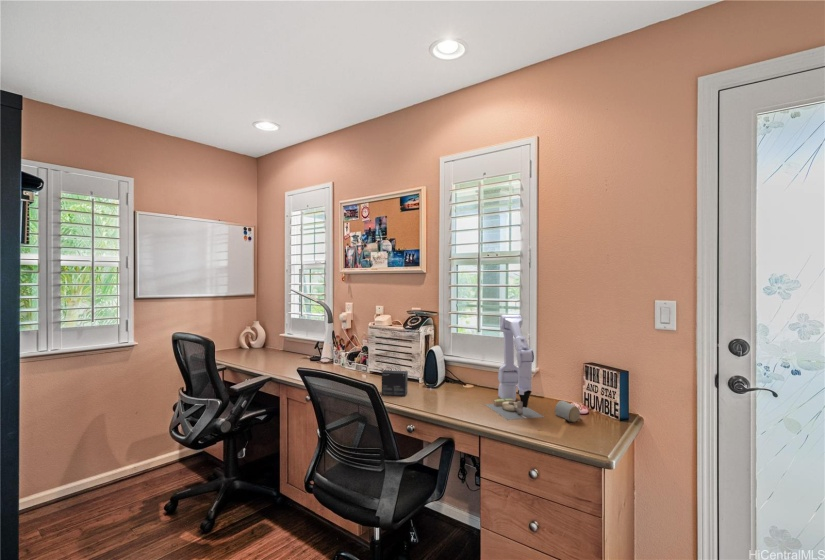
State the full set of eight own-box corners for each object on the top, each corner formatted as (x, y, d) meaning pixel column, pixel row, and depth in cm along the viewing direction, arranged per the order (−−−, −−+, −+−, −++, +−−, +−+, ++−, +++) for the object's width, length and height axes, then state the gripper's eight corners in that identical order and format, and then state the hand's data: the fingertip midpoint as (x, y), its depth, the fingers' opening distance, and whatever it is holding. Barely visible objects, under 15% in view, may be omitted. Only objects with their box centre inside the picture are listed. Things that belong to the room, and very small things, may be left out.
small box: (407, 393, 216) (408, 370, 216) (405, 396, 209) (406, 373, 209) (383, 391, 218) (384, 369, 218) (381, 395, 211) (381, 372, 211)
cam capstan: (499, 406, 189) (499, 394, 189) (514, 405, 191) (514, 393, 191) (512, 415, 176) (513, 403, 176) (529, 414, 178) (529, 401, 178)
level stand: (484, 407, 192) (484, 399, 192) (518, 405, 197) (518, 396, 197) (507, 423, 171) (507, 413, 171) (544, 420, 176) (544, 410, 176)
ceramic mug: (570, 424, 171) (570, 406, 171) (554, 418, 178) (554, 401, 178) (585, 420, 176) (586, 403, 176) (569, 415, 183) (570, 398, 183)
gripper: (519, 372, 187) (518, 401, 188) (512, 378, 174) (511, 410, 175) (534, 373, 184) (534, 403, 184) (528, 381, 171) (528, 412, 171)
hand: (524, 406), depth 179 cm, fingers closed
